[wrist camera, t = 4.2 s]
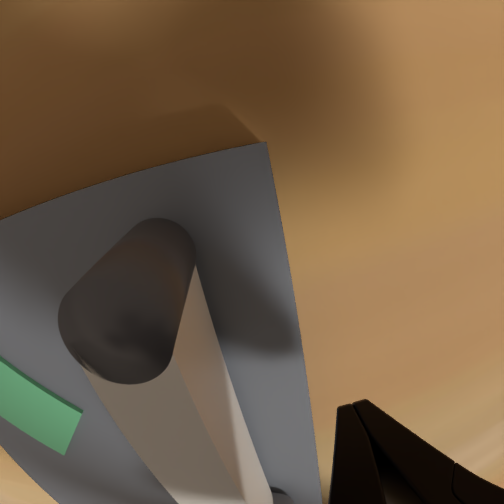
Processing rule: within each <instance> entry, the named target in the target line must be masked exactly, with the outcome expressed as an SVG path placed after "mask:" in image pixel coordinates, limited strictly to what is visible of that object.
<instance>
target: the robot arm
mask: <svg viewBox="0 0 504 504" xmlns="http://www.w3.org/2000/svg"><path fill="white" fill-rule="evenodd" d="M328 504H504V489H503V488H501V487H499V486H497V485H494V484H492V483H490V482H488V481H486V480H484V479H482V478H480V477H479V476H477V475H475V474H474V473H472V472H470V471H469V470H467V469H465V468H464V467H462V466H461V465H460V464H458V463H455V462H454V461H453V460H452V459H450V458H449V457H447V456H446V455H445V454H443V453H442V452H440V451H439V450H437V449H436V448H434V447H433V446H431V445H430V444H429V443H427V442H426V441H424V440H423V439H421V438H420V437H419V436H417V435H416V434H414V433H413V432H411V431H410V430H409V429H407V428H406V427H404V426H403V425H402V424H400V423H399V422H397V421H396V420H395V419H393V418H392V417H391V416H389V415H388V414H386V413H385V412H384V411H382V410H381V409H380V408H378V407H377V406H376V405H374V404H373V403H371V402H370V401H369V400H367V399H363V400H360V401H356V402H354V403H352V404H346V405H342V406H339V407H338V408H337V417H336V431H335V444H334V455H333V466H332V476H331V485H330V493H329V501H328Z"/></svg>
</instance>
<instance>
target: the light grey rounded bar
mask: <svg viewBox="0 0 504 504" xmlns="http://www.w3.org/2000/svg"><path fill="white" fill-rule="evenodd" d="M58 327H59V331H60V335H61V338H62V340H63V342H64V344H65V346H66V348H67V349H68V351H69V352H70V354H71V355H72V356H73V357H74V359H75V360H76V361H77V362H78V363H79V364H80V365H81V367H82V369H83V370H84V372H85V374H86V376H87V378H88V379H89V381H90V383H91V384H92V386H93V388H94V390H95V391H96V393H97V395H98V396H99V398H100V399H101V401H102V403H103V404H104V406H105V407H106V409H107V411H108V412H109V414H110V415H111V417H112V418H113V420H114V421H115V423H116V424H117V426H118V427H119V429H120V430H121V432H122V433H123V435H124V436H125V437H126V439H127V440H128V442H129V443H130V444H131V446H132V447H133V449H134V450H135V451H136V453H137V454H138V455H139V457H140V458H141V459H142V461H143V462H144V463H145V464H146V466H147V467H148V468H149V470H150V471H151V472H152V473H153V475H154V476H155V477H156V478H157V479H158V481H159V482H160V483H161V484H162V485H163V487H164V488H165V489H166V490H167V491H168V492H169V494H170V495H171V496H172V497H173V498H174V499H175V500H176V502H177V503H178V504H294V503H293V500H292V498H291V497H289V496H287V495H284V494H281V493H273V492H271V490H270V488H269V485H268V482H267V480H266V477H265V475H264V472H263V469H262V467H261V464H260V462H259V459H258V456H257V454H256V451H255V448H254V445H253V443H252V440H251V437H250V434H249V432H248V429H247V426H246V423H245V420H244V418H243V415H242V412H241V409H240V406H239V403H238V400H237V397H236V394H235V391H234V388H233V385H232V382H231V379H230V376H229V373H228V370H227V367H226V364H225V361H224V358H223V355H222V352H221V349H220V345H219V342H218V339H217V336H216V333H215V329H214V326H213V323H212V319H211V316H210V313H209V310H208V306H207V303H206V299H205V296H204V292H203V289H202V286H201V282H200V279H199V275H198V271H197V268H196V249H195V245H194V242H193V240H192V238H191V237H190V235H189V234H188V232H187V231H186V230H185V229H184V228H183V227H182V226H180V225H179V224H177V223H175V222H173V221H171V220H168V219H164V218H150V219H146V220H144V221H142V222H140V223H138V224H137V225H135V226H134V227H133V228H132V229H131V230H130V231H129V232H128V233H127V234H126V235H124V236H123V237H122V238H121V239H120V240H119V241H118V242H117V243H116V244H115V245H114V246H113V247H112V248H111V249H110V250H109V251H108V252H107V253H106V254H105V255H104V256H103V257H101V258H100V259H99V260H98V261H97V262H96V263H95V264H94V265H93V266H92V267H91V268H90V269H89V270H88V271H87V272H86V273H85V274H84V275H83V276H82V277H81V278H80V280H79V281H78V282H77V283H76V284H75V285H74V286H73V287H72V288H71V289H70V290H69V291H68V292H67V293H66V294H65V296H64V297H63V299H62V301H61V303H60V306H59V310H58Z"/></svg>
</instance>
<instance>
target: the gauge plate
mask: <svg viewBox="0 0 504 504" xmlns="http://www.w3.org/2000/svg"><path fill="white" fill-rule="evenodd" d="M150 218H164V219H168V220H171V221H173V222H175V223H177V224H179V225H180V226H182V227H183V228H184V229H185V230H186V231H187V232H188V234H189V235H190V237H191V238H192V240H193V242H194V245H195V249H196V268H197V271H198V275H199V279H200V282H201V286H202V289H203V292H204V296H205V299H206V303H207V306H208V310H209V313H210V316H211V319H212V323H213V326H214V329H215V333H216V336H217V339H218V342H219V345H220V349H221V352H222V355H223V358H224V361H225V364H226V367H227V370H228V373H229V376H230V379H231V382H232V385H233V388H234V391H235V394H236V397H237V400H238V403H239V406H240V409H241V412H242V415H243V418H244V420H245V423H246V426H247V429H248V432H249V434H250V437H251V440H252V443H253V445H254V448H255V451H256V454H257V456H258V459H259V462H260V464H261V467H262V469H263V472H264V475H265V477H266V480H267V482H268V485H269V488H270V490H271V492H273V493H281V494H284V495H287V496H289V497H291V498H292V500H293V503H294V504H322V496H321V486H320V477H319V468H318V460H317V451H316V443H315V435H314V427H313V420H312V412H311V404H310V397H309V390H308V383H307V376H306V369H305V362H304V355H303V348H302V342H301V335H300V329H299V322H298V316H297V309H296V303H295V297H294V291H293V285H292V279H291V273H290V267H289V261H288V255H287V250H286V244H285V238H284V233H283V227H282V222H281V216H280V211H279V205H278V200H277V195H276V189H275V184H274V179H273V174H272V169H271V163H270V158H269V153H268V148H267V143H266V142H260V143H255V144H250V145H245V146H240V147H235V148H230V149H225V150H221V151H216V152H212V153H208V154H203V155H199V156H195V157H191V158H187V159H183V160H179V161H175V162H171V163H167V164H163V165H160V166H156V167H152V168H149V169H145V170H141V171H138V172H135V173H131V174H128V175H124V176H121V177H118V178H114V179H111V180H108V181H105V182H102V183H99V184H95V185H92V186H89V187H86V188H83V189H80V190H77V191H75V192H72V193H69V194H66V195H63V196H60V197H58V198H55V199H52V200H49V201H47V202H44V203H41V204H39V205H36V206H34V207H31V208H28V209H26V210H23V211H21V212H18V213H16V214H14V215H11V216H9V217H6V218H4V219H2V220H0V445H1V446H2V447H3V448H4V450H5V451H6V452H7V453H8V454H9V455H10V456H11V457H12V458H13V460H14V461H15V462H16V463H17V464H18V465H19V466H20V467H21V468H22V469H23V470H24V471H25V472H26V473H27V474H28V475H29V476H30V477H31V478H32V479H33V480H34V481H35V482H36V483H37V484H38V485H39V486H40V487H41V488H42V489H43V490H44V491H45V492H47V493H48V494H49V495H50V496H51V497H52V498H53V499H54V500H56V501H57V502H58V503H59V504H178V503H177V502H176V500H175V499H174V498H173V497H172V496H171V495H170V494H169V492H168V491H167V490H166V489H165V488H164V487H163V485H162V484H161V483H160V482H159V481H158V479H157V478H156V477H155V476H154V475H153V473H152V472H151V471H150V470H149V468H148V467H147V466H146V464H145V463H144V462H143V461H142V459H141V458H140V457H139V455H138V454H137V453H136V451H135V450H134V449H133V447H132V446H131V444H130V443H129V442H128V440H127V439H126V437H125V436H124V435H123V433H122V432H121V430H120V429H119V427H118V426H117V424H116V423H115V421H114V420H113V418H112V417H111V415H110V414H109V412H108V411H107V409H106V407H105V406H104V404H103V403H102V401H101V399H100V398H99V396H98V395H97V393H96V391H95V390H94V388H93V386H92V384H91V383H90V381H89V379H88V378H87V376H86V374H85V372H84V370H83V369H82V367H81V365H80V364H79V363H78V362H77V361H76V360H75V359H74V357H73V356H72V355H71V354H70V352H69V351H68V349H67V348H66V346H65V344H64V342H63V340H62V338H61V335H60V331H59V327H58V310H59V306H60V303H61V301H62V299H63V297H64V296H65V294H66V293H67V292H68V291H69V290H70V289H71V288H72V287H73V286H74V285H75V284H76V283H77V282H78V281H79V280H80V278H81V277H82V276H83V275H84V274H85V273H86V272H87V271H88V270H89V269H90V268H91V267H92V266H93V265H94V264H95V263H96V262H97V261H98V260H99V259H100V258H101V257H103V256H104V255H105V254H106V253H107V252H108V251H109V250H110V249H111V248H112V247H113V246H114V245H115V244H116V243H117V242H118V241H119V240H120V239H121V238H122V237H123V236H124V235H126V234H127V233H128V232H129V231H130V230H131V229H132V228H133V227H134V226H135V225H137V224H138V223H140V222H142V221H144V220H146V219H150Z"/></svg>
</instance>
